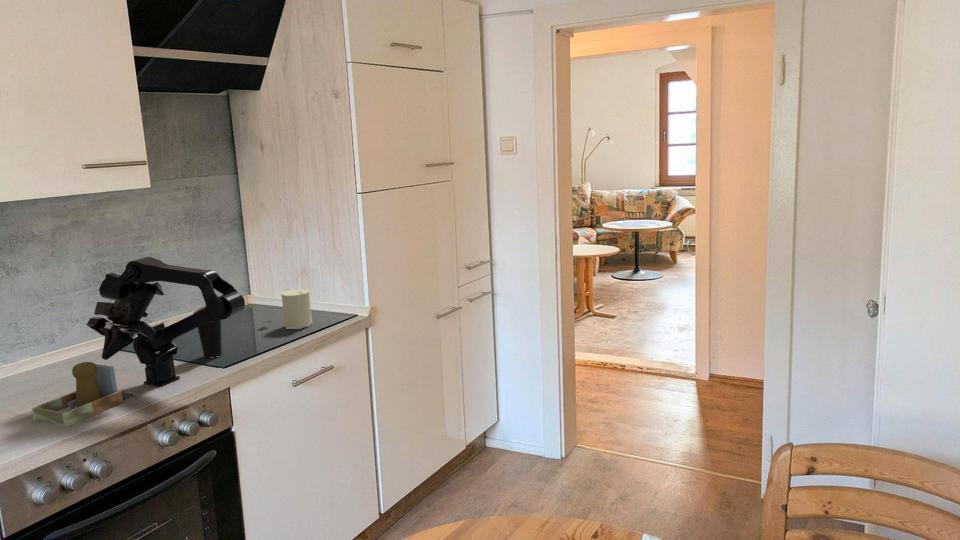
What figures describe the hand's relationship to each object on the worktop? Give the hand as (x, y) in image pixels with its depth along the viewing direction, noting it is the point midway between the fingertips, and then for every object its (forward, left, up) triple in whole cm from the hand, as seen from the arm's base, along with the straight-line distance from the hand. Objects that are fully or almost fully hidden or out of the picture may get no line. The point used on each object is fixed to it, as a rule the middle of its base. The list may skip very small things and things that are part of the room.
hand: (104, 359), depth 171 cm
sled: (+4, 0, -10) cm, 11 cm away
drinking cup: (-35, -1, -10) cm, 36 cm away
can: (-69, +3, -11) cm, 69 cm away
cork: (+5, 0, -11) cm, 12 cm away
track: (+8, 0, -10) cm, 13 cm away
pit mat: (-2, 0, -10) cm, 10 cm away
